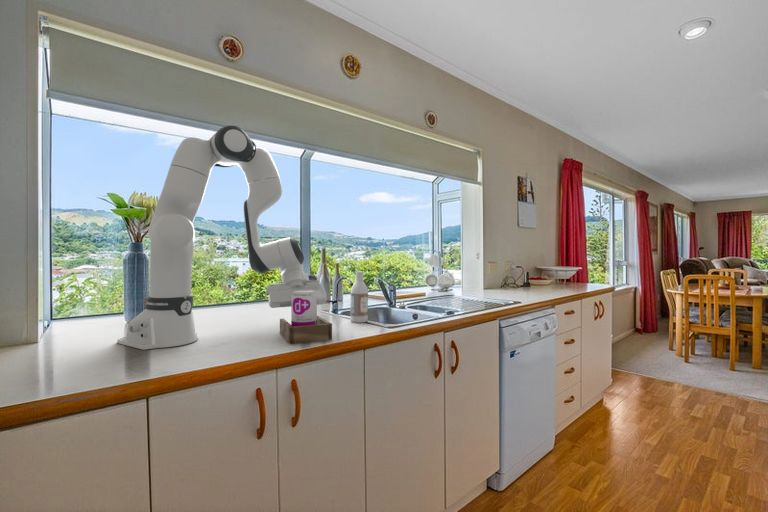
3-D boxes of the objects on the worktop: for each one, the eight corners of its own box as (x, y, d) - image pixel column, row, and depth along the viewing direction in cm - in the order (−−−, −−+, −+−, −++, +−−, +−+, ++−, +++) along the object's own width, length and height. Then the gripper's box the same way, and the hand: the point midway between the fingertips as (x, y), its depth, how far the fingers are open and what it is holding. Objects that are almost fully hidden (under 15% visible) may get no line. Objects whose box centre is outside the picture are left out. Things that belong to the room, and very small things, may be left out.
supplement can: (310, 340, 117) (310, 293, 116) (286, 338, 118) (286, 292, 118) (320, 334, 125) (320, 290, 124) (297, 332, 126) (298, 289, 126)
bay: (279, 333, 125) (279, 318, 125) (317, 329, 131) (317, 315, 131) (290, 344, 112) (290, 327, 112) (331, 339, 118) (332, 324, 118)
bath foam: (357, 323, 142) (358, 272, 142) (346, 321, 147) (347, 271, 147) (371, 321, 147) (371, 271, 147) (359, 318, 152) (360, 270, 152)
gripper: (266, 278, 127) (272, 311, 119) (323, 276, 137) (332, 307, 128) (264, 290, 131) (269, 322, 123) (319, 287, 141) (327, 317, 132)
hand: (301, 314), depth 126 cm, fingers closed, pressing on supplement can
